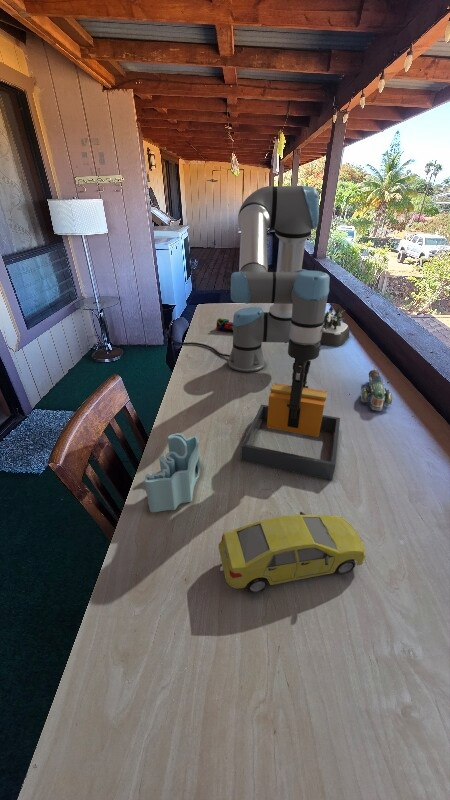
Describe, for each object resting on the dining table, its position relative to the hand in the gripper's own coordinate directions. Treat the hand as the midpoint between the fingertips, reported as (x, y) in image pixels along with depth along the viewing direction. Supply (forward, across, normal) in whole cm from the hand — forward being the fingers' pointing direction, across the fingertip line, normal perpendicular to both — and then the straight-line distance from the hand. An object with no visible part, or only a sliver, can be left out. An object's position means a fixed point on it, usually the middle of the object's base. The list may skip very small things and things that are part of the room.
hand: (295, 418), depth 96 cm
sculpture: (+10, +86, +38) cm, 94 cm away
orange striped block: (+2, 0, 0) cm, 2 cm away
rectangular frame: (+9, 0, 0) cm, 9 cm away
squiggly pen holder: (+9, -25, +24) cm, 36 cm away
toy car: (+9, -37, -6) cm, 39 cm away
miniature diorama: (+10, +91, -2) cm, 91 cm away
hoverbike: (+10, +38, -23) cm, 45 cm away
